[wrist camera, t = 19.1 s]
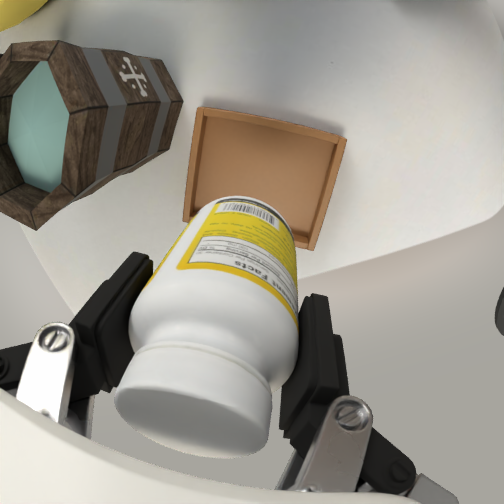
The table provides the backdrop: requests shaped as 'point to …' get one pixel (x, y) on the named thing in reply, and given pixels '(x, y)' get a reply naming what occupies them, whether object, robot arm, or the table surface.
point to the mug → (76, 123)
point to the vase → (17, 11)
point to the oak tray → (264, 167)
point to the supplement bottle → (215, 333)
